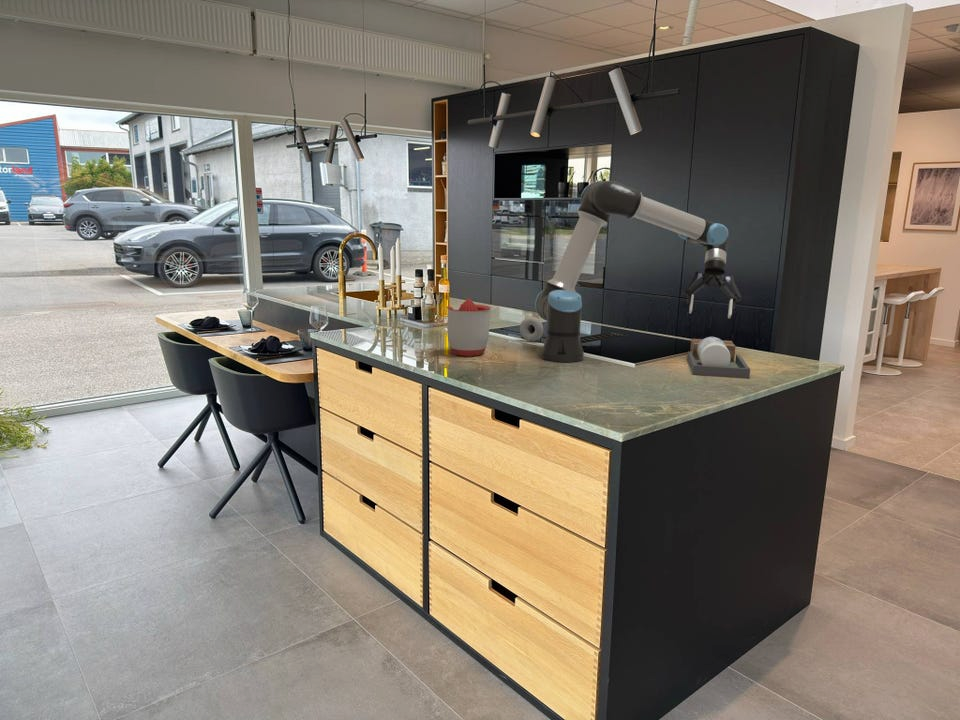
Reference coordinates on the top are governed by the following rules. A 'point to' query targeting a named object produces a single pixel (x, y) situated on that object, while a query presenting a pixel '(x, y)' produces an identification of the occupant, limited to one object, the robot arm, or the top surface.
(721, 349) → the supplement tub
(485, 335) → the citrus juicer
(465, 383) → the top surface
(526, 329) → the donut
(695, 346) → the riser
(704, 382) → the top surface
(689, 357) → the grey shallow rectangular tray
